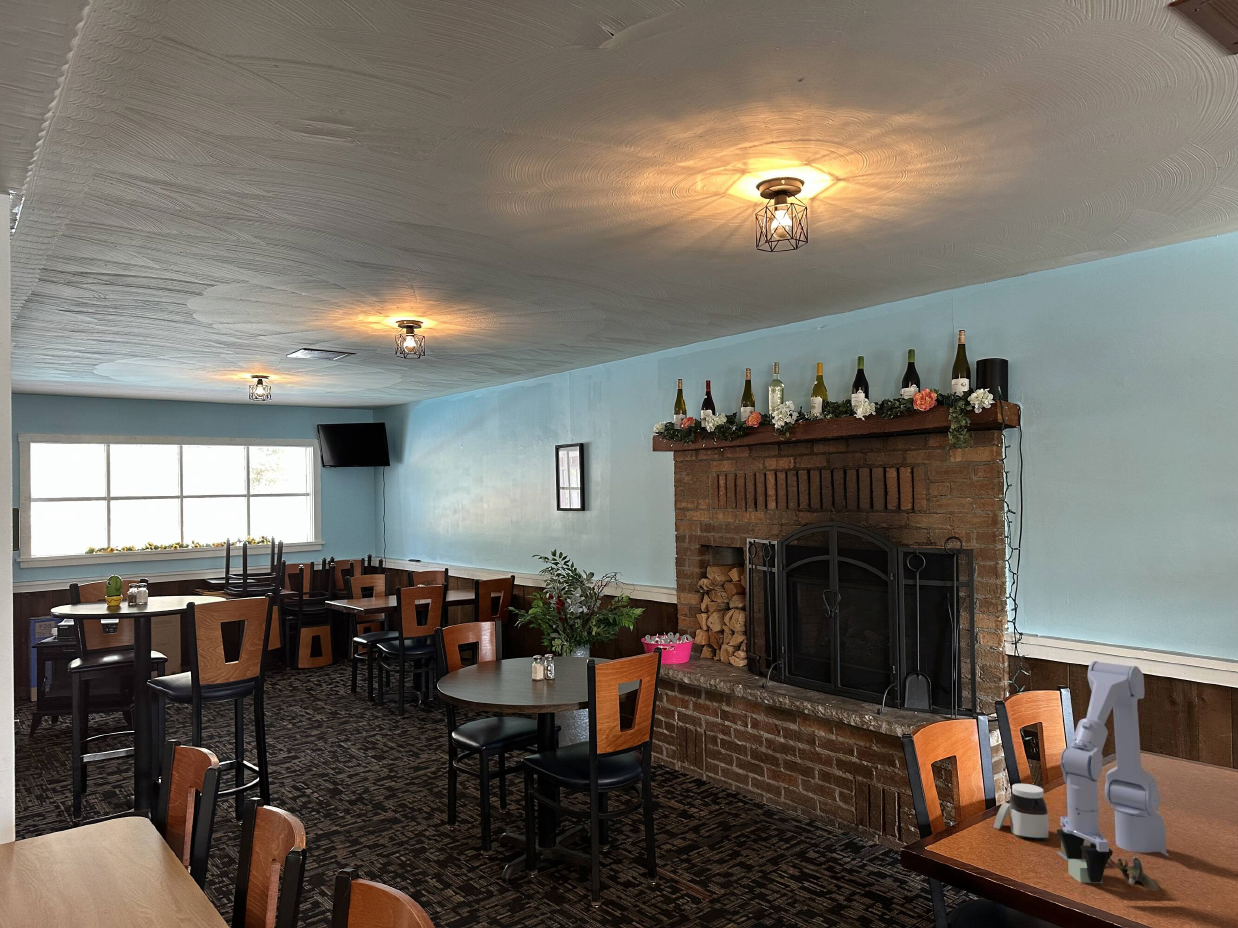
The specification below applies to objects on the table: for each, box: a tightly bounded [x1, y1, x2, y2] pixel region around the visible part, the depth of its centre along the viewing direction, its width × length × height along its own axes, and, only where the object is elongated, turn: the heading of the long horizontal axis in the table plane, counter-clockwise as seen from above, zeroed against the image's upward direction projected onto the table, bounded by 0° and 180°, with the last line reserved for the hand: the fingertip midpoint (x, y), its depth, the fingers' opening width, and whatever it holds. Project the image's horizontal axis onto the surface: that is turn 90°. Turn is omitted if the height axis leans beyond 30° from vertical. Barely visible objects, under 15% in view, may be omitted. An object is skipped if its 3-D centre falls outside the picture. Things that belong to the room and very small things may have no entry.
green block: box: [1067, 859, 1103, 884], centre depth 173 cm, size 4×4×4 cm
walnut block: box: [1060, 840, 1090, 859], centre depth 183 cm, size 6×6×3 cm
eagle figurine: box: [1108, 855, 1162, 892], centre depth 170 cm, size 8×7×9 cm
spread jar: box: [993, 783, 1049, 842], centre depth 199 cm, size 12×11×12 cm
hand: (1084, 873), depth 172 cm, fingers open, 7 cm apart
